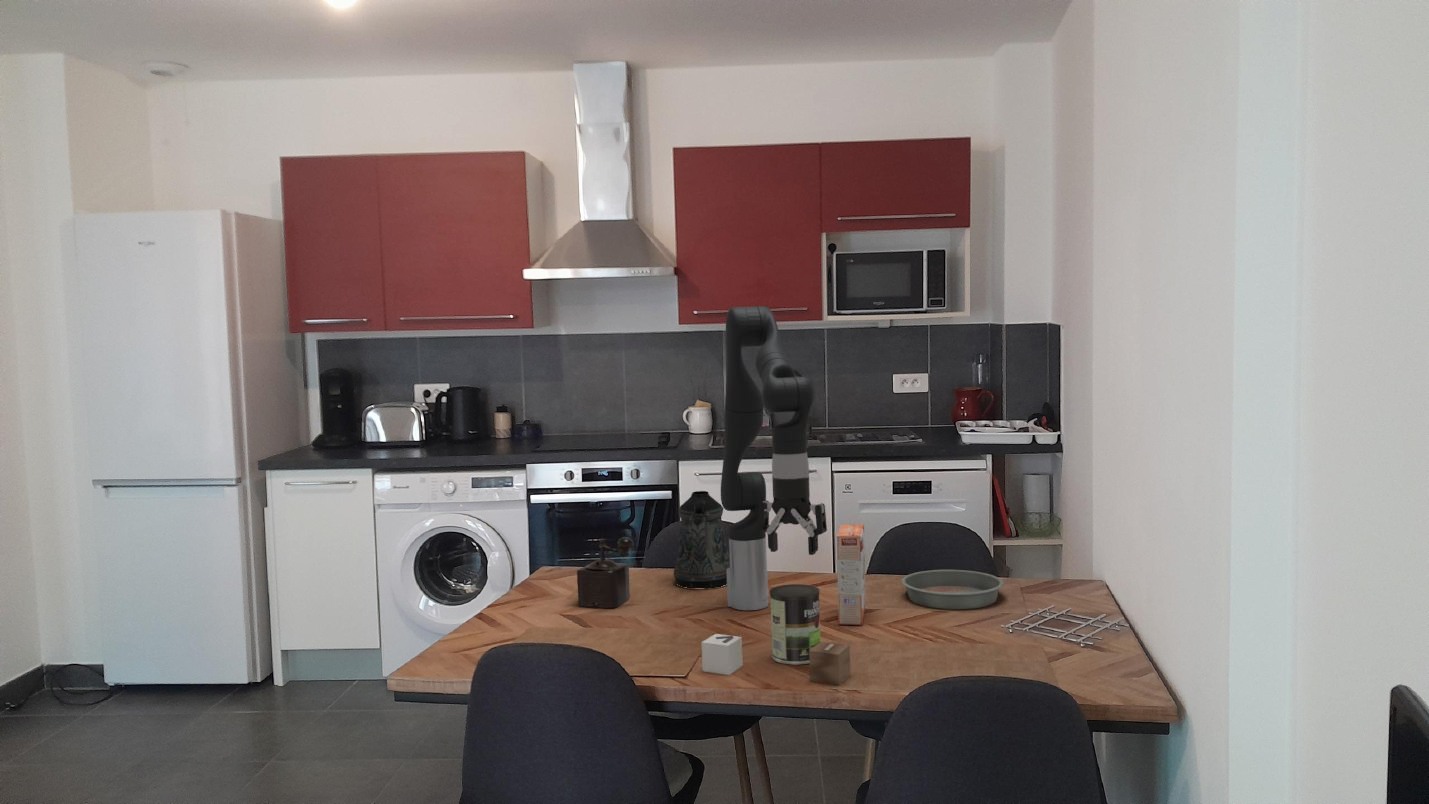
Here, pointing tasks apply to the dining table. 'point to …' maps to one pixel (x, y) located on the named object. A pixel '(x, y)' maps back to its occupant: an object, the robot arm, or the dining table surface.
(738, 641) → the offwhite block
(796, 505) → the robot arm
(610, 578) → the manual coffee grinder
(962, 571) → the cake pan
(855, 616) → the cracker box
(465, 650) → the dining table surface
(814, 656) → the walnut block
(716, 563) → the dark ornate jug
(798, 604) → the coffee can
